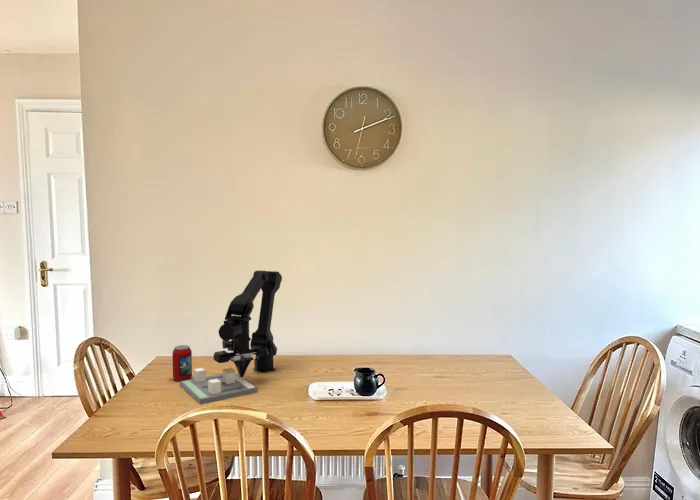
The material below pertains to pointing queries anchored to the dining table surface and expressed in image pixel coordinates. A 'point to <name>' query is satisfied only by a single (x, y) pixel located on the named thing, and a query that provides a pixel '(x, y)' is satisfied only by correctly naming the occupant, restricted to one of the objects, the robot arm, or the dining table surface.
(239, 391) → the panel
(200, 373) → the block
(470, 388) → the dining table surface
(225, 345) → the robot arm
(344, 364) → the dining table surface
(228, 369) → the block
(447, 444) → the dining table surface
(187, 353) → the beverage can
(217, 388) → the block
